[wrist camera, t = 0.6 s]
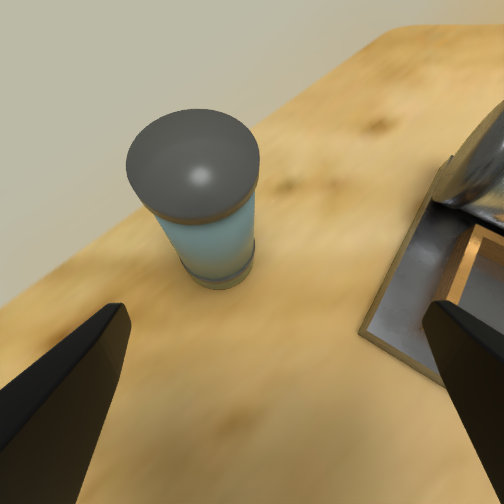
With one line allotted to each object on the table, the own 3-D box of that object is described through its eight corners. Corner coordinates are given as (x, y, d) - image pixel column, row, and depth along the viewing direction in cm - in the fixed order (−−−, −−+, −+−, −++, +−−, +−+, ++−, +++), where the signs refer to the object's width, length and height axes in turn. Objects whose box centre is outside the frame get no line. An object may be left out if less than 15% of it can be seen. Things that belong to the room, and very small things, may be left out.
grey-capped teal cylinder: (259, 287, 25) (268, 206, 13) (185, 296, 24) (121, 221, 12) (251, 223, 27) (251, 104, 15) (183, 229, 27) (129, 114, 15)
